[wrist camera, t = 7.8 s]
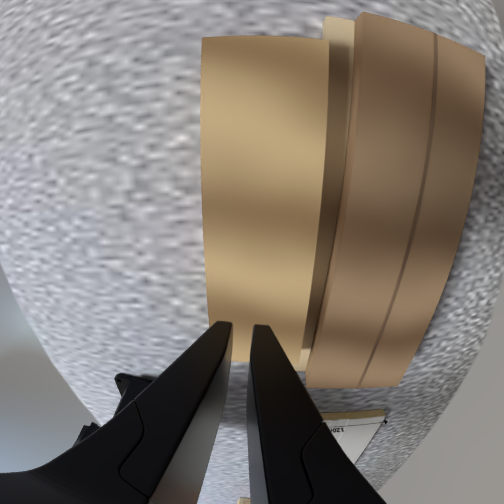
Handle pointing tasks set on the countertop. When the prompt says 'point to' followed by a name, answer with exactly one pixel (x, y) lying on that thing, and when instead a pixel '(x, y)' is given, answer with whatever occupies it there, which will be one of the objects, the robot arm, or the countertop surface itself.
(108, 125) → the countertop surface
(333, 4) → the countertop surface
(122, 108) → the countertop surface
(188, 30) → the countertop surface
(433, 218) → the floor board
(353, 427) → the baseboard molding
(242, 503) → the coffeecake box
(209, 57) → the plank
